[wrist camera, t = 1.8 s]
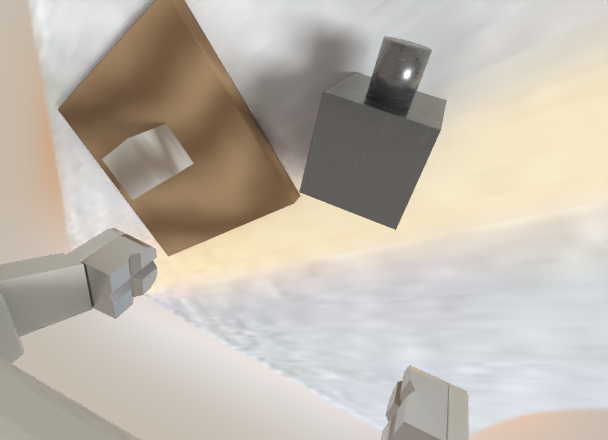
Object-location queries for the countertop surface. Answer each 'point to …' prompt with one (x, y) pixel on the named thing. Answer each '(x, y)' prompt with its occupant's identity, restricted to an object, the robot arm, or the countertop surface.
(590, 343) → the countertop surface
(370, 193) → the grey block with cylinder
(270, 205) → the brown square plate
